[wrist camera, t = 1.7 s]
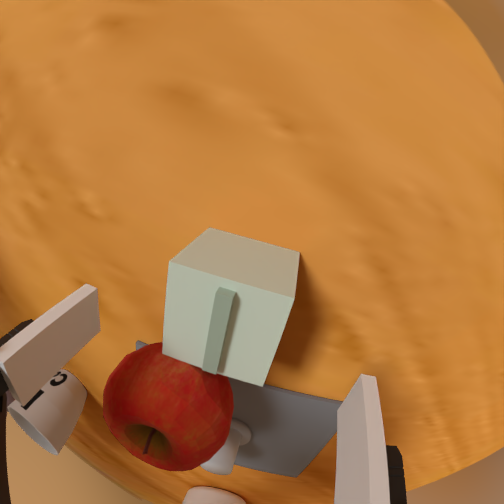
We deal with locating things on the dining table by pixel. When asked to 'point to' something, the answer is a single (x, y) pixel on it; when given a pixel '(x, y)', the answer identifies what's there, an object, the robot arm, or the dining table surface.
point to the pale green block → (229, 304)
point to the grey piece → (273, 429)
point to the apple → (167, 409)
